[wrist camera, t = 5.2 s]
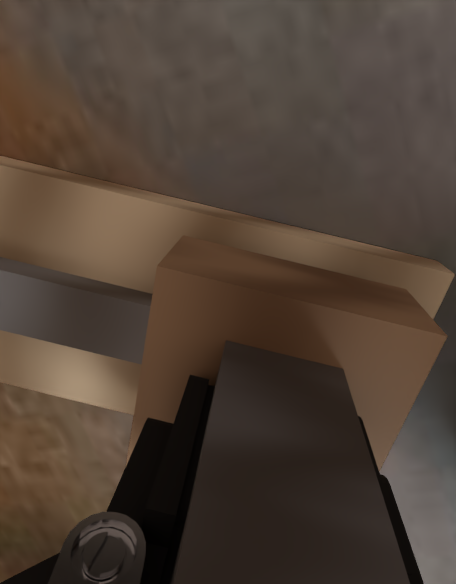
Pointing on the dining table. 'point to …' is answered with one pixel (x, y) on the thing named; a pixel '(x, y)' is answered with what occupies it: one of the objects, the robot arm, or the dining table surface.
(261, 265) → the carriage
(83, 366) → the rail
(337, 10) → the dining table surface
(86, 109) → the dining table surface
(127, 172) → the dining table surface
